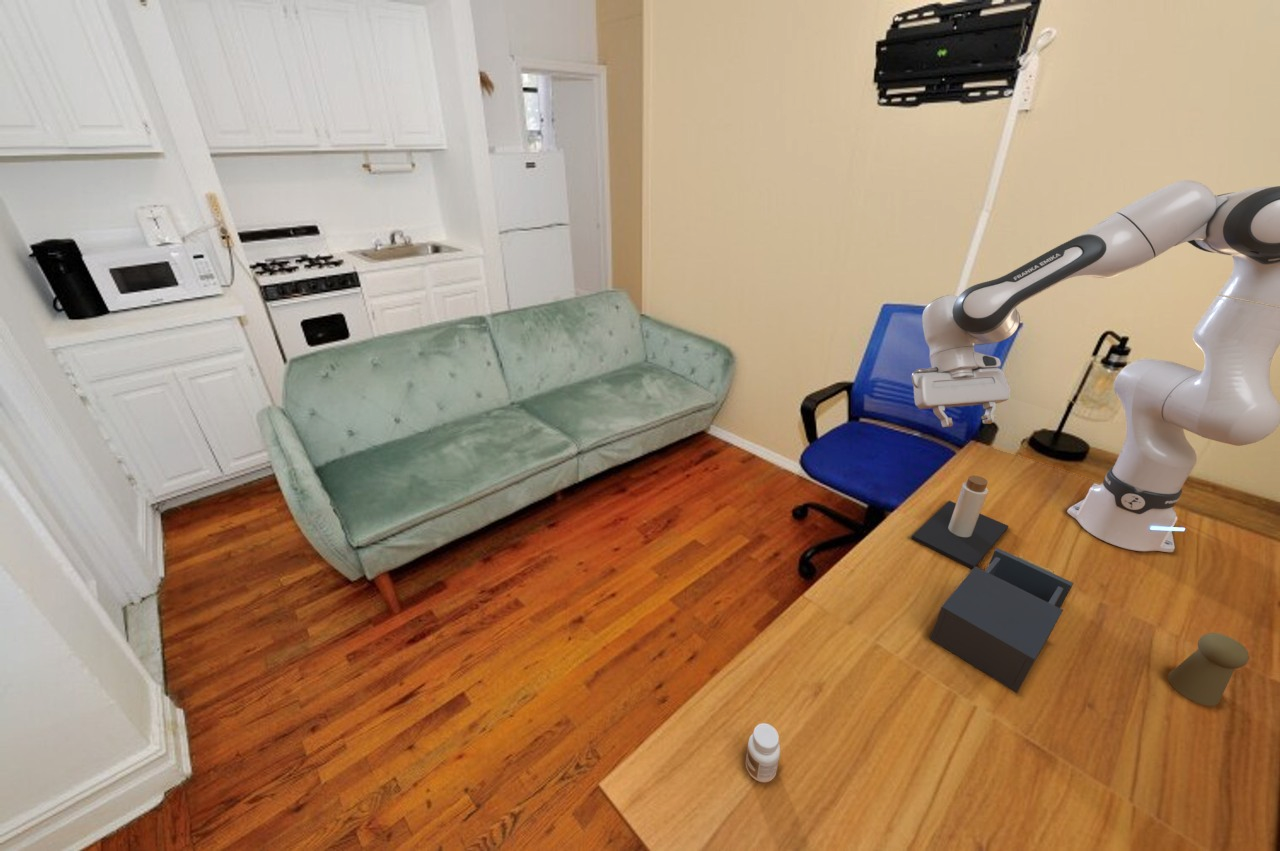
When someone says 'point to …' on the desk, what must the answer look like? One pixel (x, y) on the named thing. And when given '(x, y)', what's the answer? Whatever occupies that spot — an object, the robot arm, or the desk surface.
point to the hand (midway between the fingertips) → (968, 424)
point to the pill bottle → (763, 753)
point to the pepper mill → (968, 506)
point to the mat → (955, 546)
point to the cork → (1208, 669)
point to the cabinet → (995, 627)
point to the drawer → (1029, 577)
